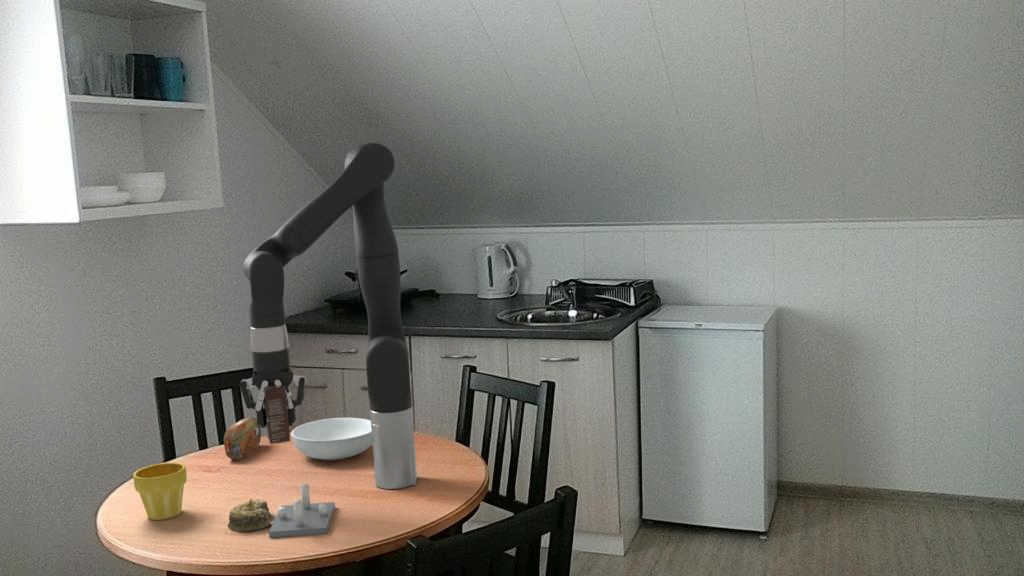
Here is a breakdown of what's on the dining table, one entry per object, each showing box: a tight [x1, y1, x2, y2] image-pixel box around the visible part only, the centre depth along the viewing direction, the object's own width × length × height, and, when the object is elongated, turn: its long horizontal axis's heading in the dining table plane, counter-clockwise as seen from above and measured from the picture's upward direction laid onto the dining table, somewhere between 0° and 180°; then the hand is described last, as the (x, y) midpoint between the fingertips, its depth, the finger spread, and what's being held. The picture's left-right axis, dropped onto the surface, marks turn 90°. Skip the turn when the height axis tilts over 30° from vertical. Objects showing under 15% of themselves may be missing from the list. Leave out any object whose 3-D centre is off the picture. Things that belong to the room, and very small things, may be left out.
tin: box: [223, 416, 262, 460], centre depth 235 cm, size 15×3×8 cm, turn 168°
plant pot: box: [132, 462, 188, 521], centre depth 195 cm, size 10×10×10 cm
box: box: [263, 385, 291, 445], centre depth 195 cm, size 6×4×12 cm
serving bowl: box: [290, 417, 373, 461], centre depth 231 cm, size 21×21×7 cm
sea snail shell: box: [227, 498, 277, 533], centre depth 188 cm, size 10×10×5 cm
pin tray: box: [268, 483, 336, 538], centre depth 187 cm, size 11×14×6 cm
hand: (277, 425), depth 196 cm, fingers closed on box, 5 cm apart
